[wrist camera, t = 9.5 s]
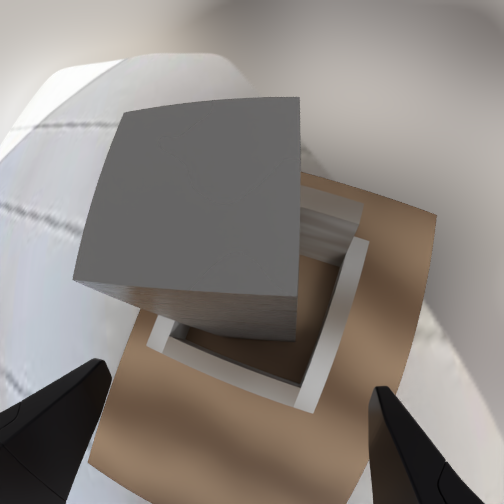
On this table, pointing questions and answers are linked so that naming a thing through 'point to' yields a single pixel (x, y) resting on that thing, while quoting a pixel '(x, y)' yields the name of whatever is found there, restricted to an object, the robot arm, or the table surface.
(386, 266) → the keeper board
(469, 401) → the table surface
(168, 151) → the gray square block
